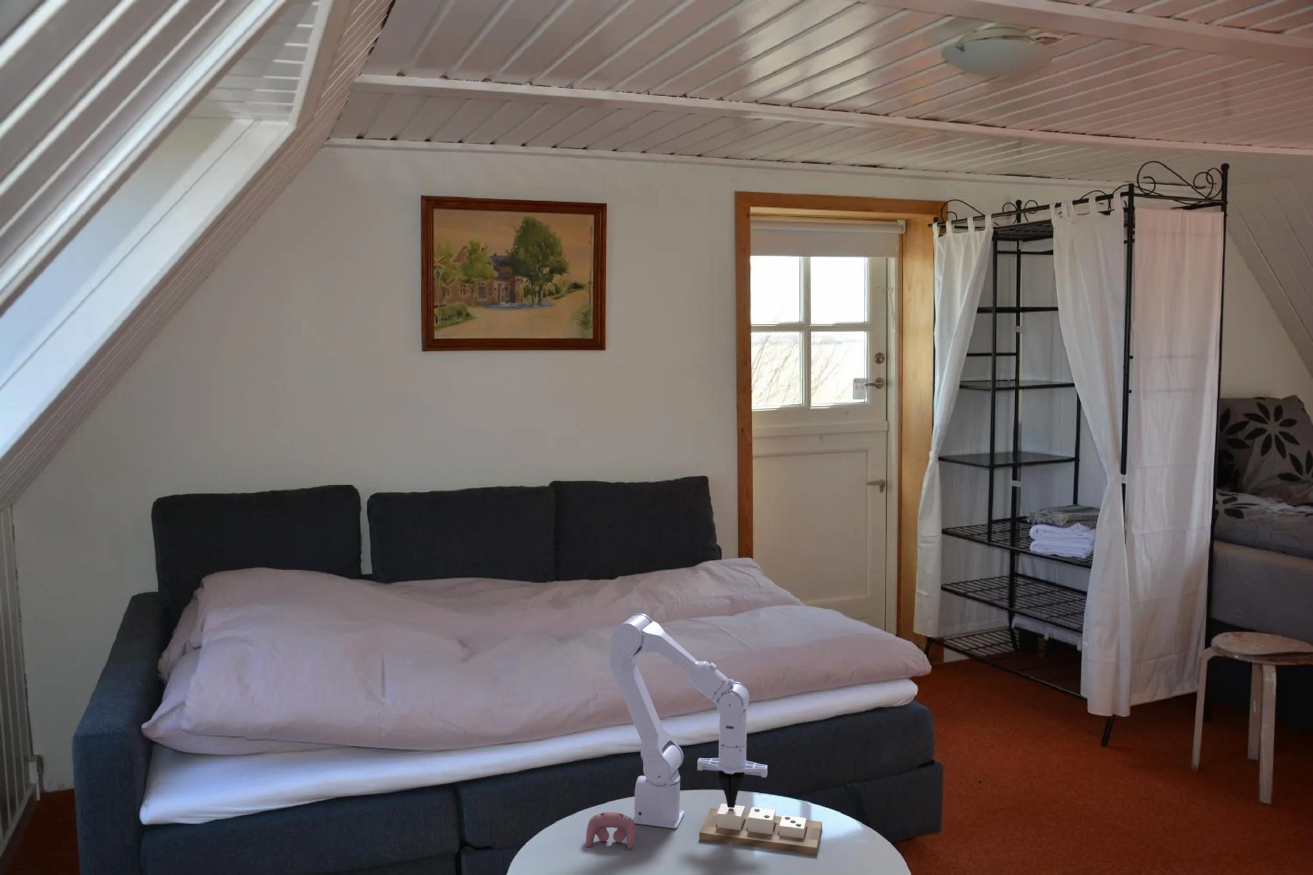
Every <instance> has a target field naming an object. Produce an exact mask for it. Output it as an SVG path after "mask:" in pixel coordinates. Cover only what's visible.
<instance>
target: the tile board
mask: <svg viewBox="0 0 1313 875" xmlns="http://www.w3.org/2000/svg"><path fill="white" fill-rule="evenodd" d="M718 811H719V808H713V807H710V809H709V811H708V813H707V815H706V817H705V819H704V822H703V824H702V826H701V828H700V830H699V832H698V835H699V836H698V838H699V840H700V841H709V842H714V841H717V842H716V843H722V842H726V843H725V844H730V843H733V844H732V845H737V844H738V846H739V845H740V846H746V847H752V848H753V847H754V848H761V849H762V848H763V849H767V850H770V849H771V850H777V851H785V852H793V853H798V854H799V853H801V854H807V855H814V856H815V855H816V856H817V855H818V849H819V845H820V839H821V836H822V831H823V830H822V829H823V821H818V820H810V819H806V834H805V838H804V839H802V838H795V837H787V836H779V825H780V822H781V819H782V816H777V815H775V826H774V829H773V832H772V834H765V833H757V832H749V831H748V816H749V814H750V812H747V811H745V820H744V823H743V825H742V828H741V830H734V829H726V828H718V827H717V813H718Z"/></svg>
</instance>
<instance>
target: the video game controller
mask: <svg viewBox="0 0 1313 875" xmlns="http://www.w3.org/2000/svg"><path fill="white" fill-rule="evenodd" d="M635 826H636V823H634V819H632V818H631V817H630V816H628V815H627V814H623V813H620V812H616V811H615V812H614V811H606V812H602V813H596V814H595V815H593V816H592V817H591V818H590V819H589V821H588V824H587V827H586V828H587V829H586V837H585V838H586V839H585V844H586V847H587V848H590V847H591V846H592V845H593V843H594V840H595V837H596V836H597V838H598V840H599V841H601V842H606V841H608V840H609V839H610V832H609V830H608V828H613V829H616V830H615V831H614V832H613V834H612V839H613V841H615V842H616V843H622V842H624V840H625V838H626V846H627V849H628V850H631V849H632V848H633V846H634V843H635V835H636V834H635V833H636V832H635V829H636V828H635Z"/></svg>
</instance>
